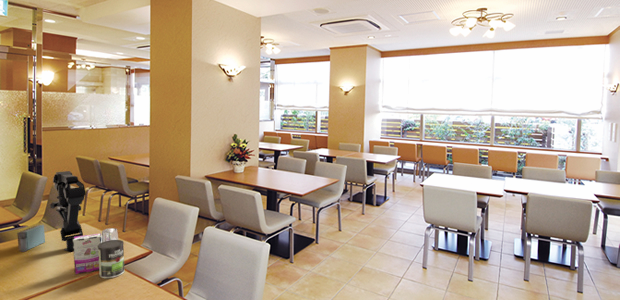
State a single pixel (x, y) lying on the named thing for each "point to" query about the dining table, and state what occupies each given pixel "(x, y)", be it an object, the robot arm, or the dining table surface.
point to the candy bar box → (86, 253)
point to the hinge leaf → (33, 238)
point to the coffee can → (111, 258)
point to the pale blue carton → (22, 236)
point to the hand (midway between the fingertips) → (66, 221)
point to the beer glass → (109, 234)
